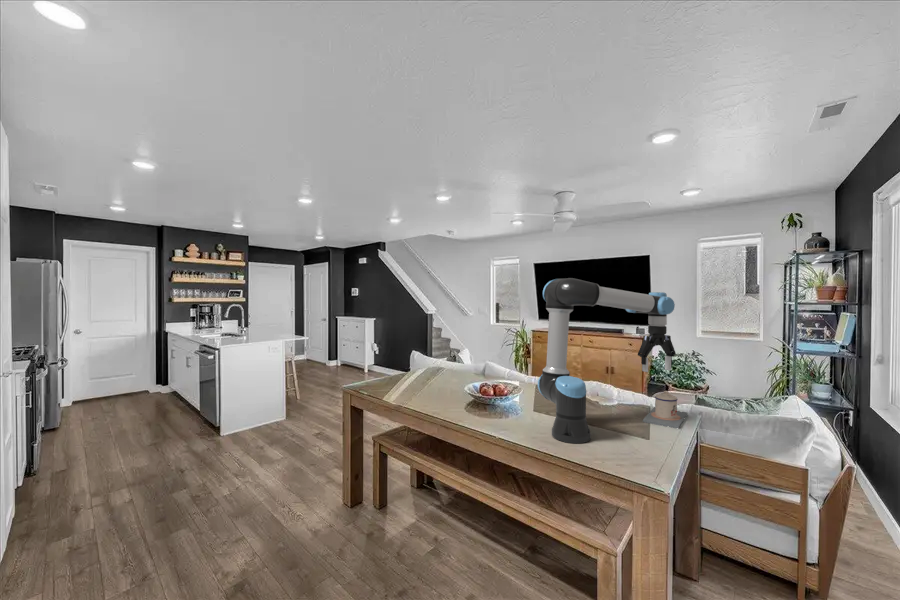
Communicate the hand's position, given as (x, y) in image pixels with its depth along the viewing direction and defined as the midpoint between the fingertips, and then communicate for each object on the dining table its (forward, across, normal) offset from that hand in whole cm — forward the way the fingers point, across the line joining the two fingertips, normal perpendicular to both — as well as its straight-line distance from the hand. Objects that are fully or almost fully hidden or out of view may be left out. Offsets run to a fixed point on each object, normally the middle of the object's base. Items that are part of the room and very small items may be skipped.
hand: (656, 370), depth 177 cm
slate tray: (+22, -3, +2) cm, 22 cm away
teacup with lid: (+21, -4, +2) cm, 21 cm away
